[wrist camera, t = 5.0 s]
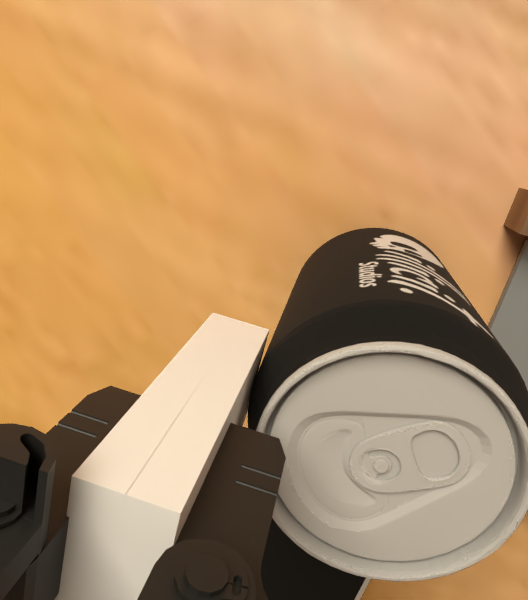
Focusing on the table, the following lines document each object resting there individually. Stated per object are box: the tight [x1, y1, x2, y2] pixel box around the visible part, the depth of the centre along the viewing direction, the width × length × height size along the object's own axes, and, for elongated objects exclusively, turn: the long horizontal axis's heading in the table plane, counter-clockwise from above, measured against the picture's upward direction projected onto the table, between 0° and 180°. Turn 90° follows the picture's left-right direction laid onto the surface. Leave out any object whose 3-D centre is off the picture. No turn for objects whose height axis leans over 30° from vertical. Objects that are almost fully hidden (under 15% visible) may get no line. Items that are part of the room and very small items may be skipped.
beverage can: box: [248, 228, 528, 581], centre depth 16 cm, size 7×7×12 cm
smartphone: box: [261, 518, 371, 600], centre depth 26 cm, size 7×15×1 cm, turn 162°
